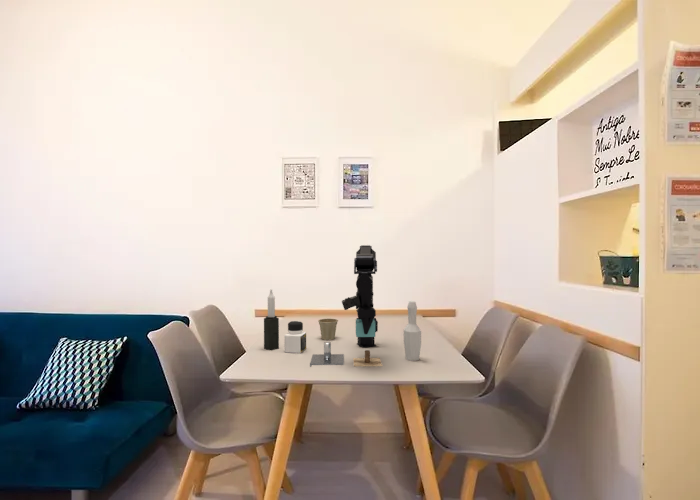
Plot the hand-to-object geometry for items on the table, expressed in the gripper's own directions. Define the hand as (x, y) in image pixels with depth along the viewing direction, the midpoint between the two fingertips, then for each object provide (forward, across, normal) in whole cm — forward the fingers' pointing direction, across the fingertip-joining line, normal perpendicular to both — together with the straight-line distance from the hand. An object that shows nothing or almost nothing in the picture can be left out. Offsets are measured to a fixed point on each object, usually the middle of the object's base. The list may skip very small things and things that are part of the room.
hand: (365, 331), depth 139 cm
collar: (+1, 0, 0) cm, 1 cm away
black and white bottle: (+12, -23, -38) cm, 46 cm away
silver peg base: (+12, -3, -14) cm, 18 cm away
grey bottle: (+12, -3, +18) cm, 22 cm away
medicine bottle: (+12, -19, -28) cm, 35 cm away
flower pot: (+12, -39, -15) cm, 43 cm away
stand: (+12, 0, +1) cm, 12 cm away
